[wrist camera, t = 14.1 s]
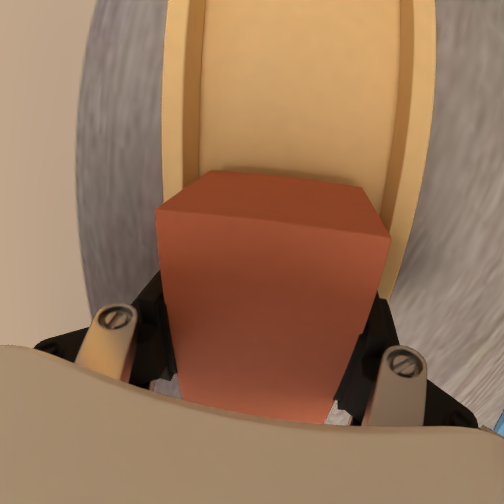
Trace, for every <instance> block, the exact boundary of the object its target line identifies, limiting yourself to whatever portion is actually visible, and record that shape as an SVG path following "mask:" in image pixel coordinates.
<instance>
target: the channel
mask: <svg viewBox="0 0 504 504" xmlns="http://www.w3.org/2000/svg"><path fill="white" fill-rule="evenodd" d="M435 74H436V14H435V0H168V7H167V17H166V28H165V41H164V57H163V79H162V171H163V194H164V202H166V201H167V200H169V199H170V198H171V197H173V196H174V195H176V194H177V193H178V192H180V191H181V190H183V189H184V188H186V187H187V186H188V185H190V184H191V183H193V182H194V181H196V180H197V179H199V178H200V177H201V176H203V175H204V174H206V173H207V172H209V171H211V170H215V171H229V172H242V173H253V174H264V175H274V176H283V177H292V178H301V179H309V180H316V181H324V182H331V183H338V184H345V185H351V186H358V187H362V188H363V190H364V192H365V193H366V195H367V196H368V198H369V200H370V201H371V203H372V205H373V206H374V208H375V210H376V211H377V213H378V215H379V217H380V218H381V220H382V222H383V224H384V225H385V227H386V229H387V231H388V232H389V234H390V236H391V238H392V240H391V244H390V248H389V252H388V255H387V259H386V262H385V266H384V269H383V273H382V276H381V280H380V283H379V286H378V289H377V290H378V294H379V297H380V298H382V299H386V300H387V302H389V299H390V296H391V294H392V291H393V288H394V285H395V282H396V279H397V276H398V273H399V269H400V266H401V263H402V260H403V256H404V253H405V249H406V246H407V242H408V239H409V235H410V231H411V227H412V224H413V220H414V215H415V211H416V207H417V203H418V198H419V194H420V189H421V184H422V179H423V174H424V168H425V163H426V157H427V151H428V144H429V137H430V130H431V122H432V113H433V102H434V90H435Z"/></svg>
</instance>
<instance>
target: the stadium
mask: <svg viewBox="0 0 504 504" xmlns="http://www.w3.org/2000/svg"><path fill="white" fill-rule="evenodd" d="M494 432H496V433H498V434H500V435H501V436H503V437H504V411H503V413H502V415H501V417H500V419H499V421H498V423H497V425H496V427H495V429H494Z"/></svg>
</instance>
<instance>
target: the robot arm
mask: <svg viewBox="0 0 504 504" xmlns="http://www.w3.org/2000/svg"><path fill="white" fill-rule="evenodd" d="M174 373H176V374H178V371H177V366H176V361H175V355H174V350H173V344H172V338H171V332H170V326H169V320H168V313H167V306H166V304H165V301H164V294H163V286H162V279H161V270H159V271H158V272H157V274H156V275H155V276H154V277H153V278H152V280H151V281H150V282H149V283H148V284H147V286H146V287H145V288H144V289H143V290H142V292H141V293H140V294H139V295H138V297H137V298H136V299H135V300H134V302H133V303H132V304H131V305H129V304H127V303H112V304H109V305H106V306H104V307H102V308H101V309H100V310H99V311H97V313H96V314H95V316H94V318H93V320H92V322H91V325H90V327H87V328H84V329H80V330H77V331H73V332H70V333H66V334H63V335H59V336H56V337H52V338H48V339H46V340H43V341H41V342H40V343H38V344H37V345H36V346H35V347H34V348H28V347H23V346H16V345H1V346H0V504H504V437H503V436H501V435H500V434H498V433H496V432H494V431H493V430H491V429H489V428H487V427H486V426H484V425H482V426H481V427H480V428H479V427H478V423H477V419H476V418H475V416H474V414H473V413H472V412H471V411H470V410H469V409H468V408H466V407H465V406H463V405H462V404H461V403H459V402H458V401H457V400H455V399H454V398H452V397H451V396H450V395H448V394H447V393H446V392H444V391H443V390H441V389H440V388H439V387H437V386H436V385H435V384H433V383H432V382H430V381H429V380H428V379H427V363H426V361H425V359H424V357H423V356H422V355H421V354H420V353H419V352H417V351H416V350H414V349H413V348H410V347H408V346H402V345H400V344H399V340H398V337H397V333H396V329H395V326H394V322H393V319H392V315H391V312H390V308H389V305H388V302H387V300H386V299H382V298H380V297H379V294H378V290H377V292H376V296H375V299H374V302H373V305H372V308H371V311H370V314H369V317H368V319H367V322H366V325H365V328H364V331H363V333H362V334H359V337H358V339H357V342H356V345H355V347H354V350H353V353H352V355H351V358H350V360H349V363H348V365H347V368H346V370H345V373H344V375H343V378H342V380H341V382H340V385H339V387H338V389H337V392H336V394H335V396H334V398H333V400H338V409H340V410H345V411H347V412H348V413H349V414H350V415H351V417H350V419H349V422H348V425H347V426H343V425H328V424H316V423H306V422H297V421H289V420H281V419H274V418H267V417H261V416H255V415H249V414H244V413H238V412H233V411H228V410H223V409H219V408H214V407H210V406H205V405H201V404H197V403H193V402H189V401H185V400H181V399H178V398H174V397H170V396H167V395H163V394H160V393H156V392H154V386H155V380H157V379H160V378H161V379H165V380H169V381H171V379H172V377H173V375H174Z"/></svg>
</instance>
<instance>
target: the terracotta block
mask: <svg viewBox="0 0 504 504" xmlns="http://www.w3.org/2000/svg"><path fill="white" fill-rule="evenodd" d="M155 220H156V232H157V243H158V252H159V262H160V270H161V279H162V286H163V294H164V301H165V304H166V306H167V313H168V320H169V326H170V332H171V338H172V344H173V350H174V355H175V361H176V366H177V371H178V374H177V376H178V381H179V386H180V391H181V395H182V400H185V401H189V402H193V403H197V404H201V405H205V406H210V407H214V408H219V409H223V410H228V411H233V412H238V413H244V414H249V415H255V416H261V417H267V418H274V419H281V420H289V421H297V422H306V423H316V424H324V422H325V420H326V418H327V416H328V414H329V412H330V410H331V408H332V405H333V403H334V401H335V400H333V398H334V396H335V394H336V392H337V389H338V387H339V385H340V382H341V380H342V378H343V375H344V373H345V370H346V368H347V365H348V363H349V360H350V358H351V355H352V353H353V350H354V347H355V345H356V342H357V339H358V337H359V334H362V333H363V331H364V328H365V325H366V322H367V319H368V317H369V314H370V311H371V308H372V305H373V302H374V299H375V296H376V292H377V289H378V286H379V283H380V280H381V276H382V273H383V269H384V266H385V262H386V259H387V255H388V252H389V248H390V244H391V240H392V238H391V236H390V234H389V232H388V231H387V229H386V227H385V225H384V224H383V222H382V220H381V218H380V217H379V215H378V213H377V211H376V210H375V208H374V206H373V205H372V203H371V201H370V200H369V198H368V196H367V195H366V193H365V192H364V190H363V188H362V187H358V186H351V185H345V184H338V183H331V182H324V181H316V180H309V179H301V178H292V177H283V176H274V175H264V174H253V173H242V172H229V171H215V170H211V171H209V172H207V173H206V174H204V175H203V176H201V177H200V178H199V179H197V180H196V181H194V182H193V183H191V184H190V185H188V186H187V187H186V188H184V189H183V190H181V191H180V192H178V193H177V194H176V195H174V196H173V197H171V198H170V199H169V200H167V201H166V202H164V203H163V204H162V205H160V206H159V207H158V208H156V209H155Z"/></svg>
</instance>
